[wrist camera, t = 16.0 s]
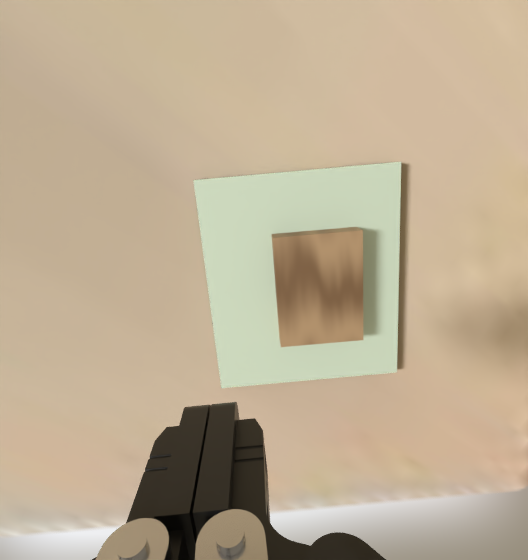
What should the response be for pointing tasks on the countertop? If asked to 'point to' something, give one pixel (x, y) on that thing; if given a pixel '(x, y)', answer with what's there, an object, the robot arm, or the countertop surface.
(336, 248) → the brown wooden block
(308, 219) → the mat
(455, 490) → the countertop surface
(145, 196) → the countertop surface
